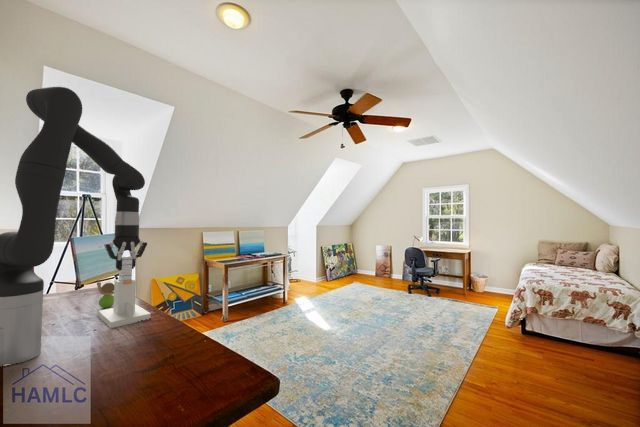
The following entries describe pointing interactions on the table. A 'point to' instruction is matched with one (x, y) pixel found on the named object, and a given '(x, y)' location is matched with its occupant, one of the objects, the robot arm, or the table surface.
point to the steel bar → (126, 269)
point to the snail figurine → (106, 294)
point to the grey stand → (123, 306)
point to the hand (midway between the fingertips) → (125, 269)
